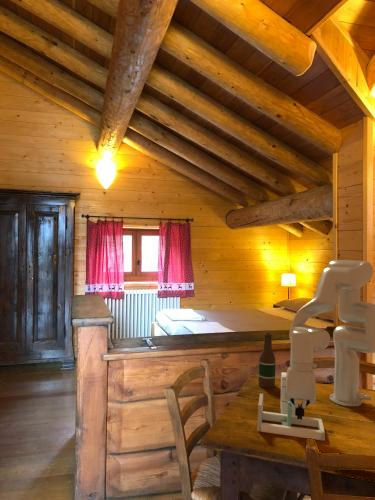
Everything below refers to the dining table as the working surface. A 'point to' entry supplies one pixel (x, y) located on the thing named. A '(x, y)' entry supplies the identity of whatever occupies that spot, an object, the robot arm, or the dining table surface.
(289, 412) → the plate
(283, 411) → the syrup box
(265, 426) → the white angular frame
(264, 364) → the beer bottle
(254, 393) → the dining table surface
